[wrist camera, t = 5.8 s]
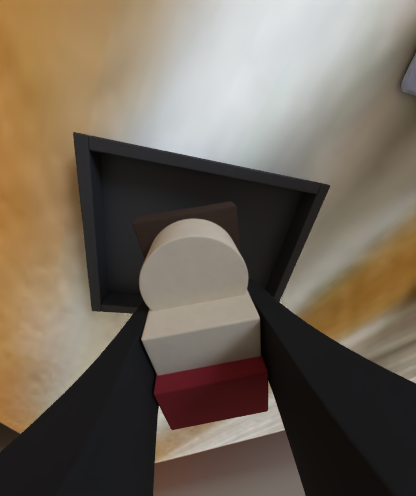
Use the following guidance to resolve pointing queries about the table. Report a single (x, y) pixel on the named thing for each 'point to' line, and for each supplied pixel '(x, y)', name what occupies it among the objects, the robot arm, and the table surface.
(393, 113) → the table surface
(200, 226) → the red-based arched block
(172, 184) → the tray
